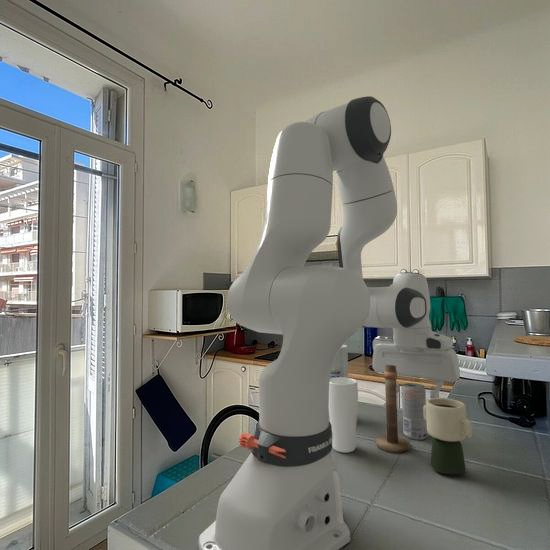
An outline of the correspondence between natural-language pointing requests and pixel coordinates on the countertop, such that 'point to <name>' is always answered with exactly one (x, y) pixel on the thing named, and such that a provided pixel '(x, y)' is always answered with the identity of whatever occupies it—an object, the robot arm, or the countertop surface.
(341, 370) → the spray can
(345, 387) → the white tumbler
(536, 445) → the countertop surface
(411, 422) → the energy drink
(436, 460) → the character mug
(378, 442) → the post
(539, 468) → the countertop surface
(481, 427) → the countertop surface
